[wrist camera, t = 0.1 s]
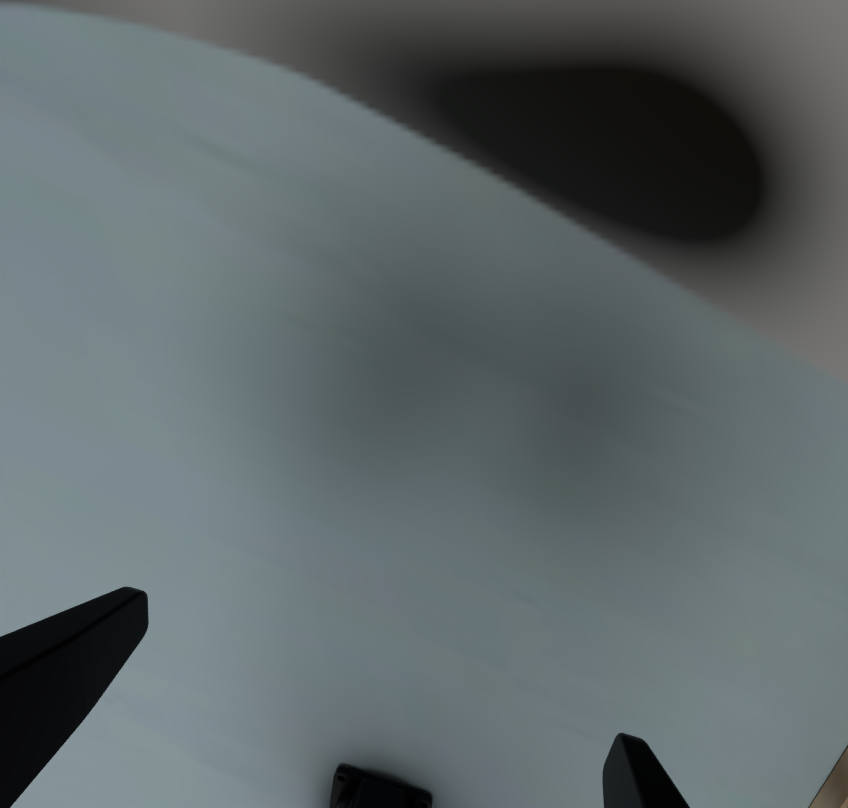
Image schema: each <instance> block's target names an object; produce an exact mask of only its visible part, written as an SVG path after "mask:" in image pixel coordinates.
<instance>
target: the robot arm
mask: <svg viewBox="0 0 848 808" xmlns="http://www.w3.org/2000/svg"><path fill="white" fill-rule="evenodd" d="M147 628H148V597H147V594H146V592H144V591H142V590H139V589H135V588H132V587H122V588H119V589H117V590H114V591H112V592H110V593H107V594H105V595H102V596H100V597H97V598H95V599H92V600H90V601H87V602H85V603H82V604H80V605H78V606H75V607H73V608H70V609H68V610H65V611H63V612H60V613H58V614H55V615H53V616H50V617H48V618H46V619H43V620H41V621H38V622H36V623H33V624H31V625H28V626H26V627H23V628H21V629H18V630H16V631H14V632H11V633H9V634H6V635H4V636H1V637H0V808H10V807H11V806H12V805H13V803H14V802H15V801H16V800H17V799H18V798H19V796H20V795H21V794H22V793H23V792H24V790H25V789H26V788H27V787H28V786H29V784H30V783H31V782H32V781H33V780H34V779H35V777H36V776H37V775H38V774H39V773H40V771H41V770H42V769H43V768H44V767H45V765H46V764H47V763H48V762H49V761H50V760H51V758H52V757H53V756H54V755H55V754H56V752H57V751H58V750H59V749H60V748H61V747H62V745H63V744H64V743H65V742H66V741H67V739H68V738H69V737H70V736H71V735H72V733H73V732H74V731H75V730H76V729H77V727H78V726H79V725H80V724H81V723H82V721H83V720H84V719H85V718H86V716H87V715H88V714H89V712H90V711H91V710H92V708H93V707H94V706H95V704H96V703H97V702H98V700H99V699H100V698H101V696H102V695H103V693H104V692H105V691H106V689H107V688H108V686H109V685H110V683H111V682H112V681H113V679H114V678H115V676H116V675H117V674H118V672H119V671H120V669H121V668H122V667H123V665H124V664H125V662H126V661H127V660H128V658H129V657H130V655H131V654H132V653H133V651H134V650H135V648H136V647H137V646H138V644H139V643H140V641H141V640H142V638H143V637H144V635H145V633H146V631H147ZM603 798H604V808H690V807H689V805H688V804H687V802H686V801H685V799H684V798H683V796H682V795H681V793H680V792H679V790H678V789H677V787H676V786H675V784H674V783H673V781H672V780H671V778H670V777H669V775H668V774H667V772H666V771H665V769H664V768H663V766H662V765H661V763H660V762H659V760H658V759H657V757H656V756H655V755H654V753H653V752H652V750H651V749H650V747H649V746H648V744H647V743H646V742H645V741H644V740H643V739H641V738H638V737H635V736H632V735H628V734H625V733H619V734H618V735H617V736H616V737H615V740H614V742H613V744H612V747H611V749H610V752H609V754H608V756H607V759H606V761H605V764H604V768H603ZM432 802H433V799H432V797H431V796H430V795H429V794H427V793H424V792H421V791H418V790H415V789H411V788H408V787H405V786H402V785H399V784H396V783H393V782H390V781H387V780H384V779H381V778H377V777H374V776H371V775H368V774H365V773H362V772H359V771H356V770H353V769H350V768H346V767H343V766H340V767H338V768H337V769H336V772H335V775H334V780H333V787H332V794H331V801H330V808H432Z"/></svg>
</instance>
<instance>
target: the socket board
mask: <svg viewBox="0 0 848 808" xmlns="http://www.w3.org/2000/svg"><path fill="white" fill-rule="evenodd" d="M809 808H848V747H847V749H846V750H845V752H844V754H843V755H842V757H841V758H840V760H839V761H838V763H837V765H836V766H835V768H834V769H833V771H832V773H831V774H830V776H829V777H828V779H827V780H826V782H825V784H824V785H823V787H822V788H821V790H820V791H819V793H818V795H817V796H816V798H815V799H814V801H813V803H812V804H811V806H810V807H809Z"/></svg>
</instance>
